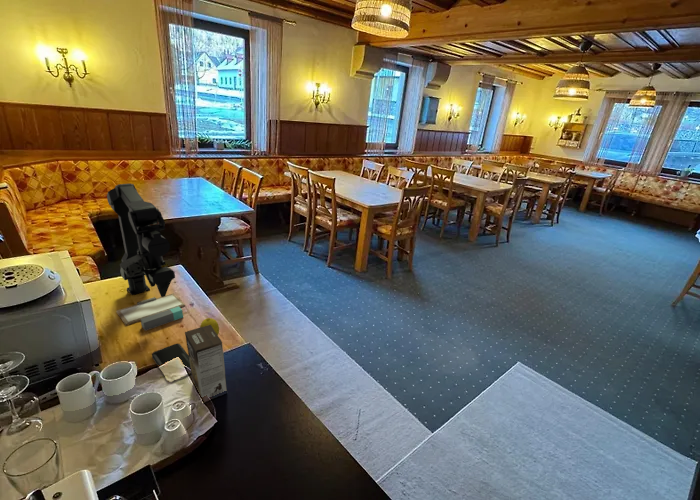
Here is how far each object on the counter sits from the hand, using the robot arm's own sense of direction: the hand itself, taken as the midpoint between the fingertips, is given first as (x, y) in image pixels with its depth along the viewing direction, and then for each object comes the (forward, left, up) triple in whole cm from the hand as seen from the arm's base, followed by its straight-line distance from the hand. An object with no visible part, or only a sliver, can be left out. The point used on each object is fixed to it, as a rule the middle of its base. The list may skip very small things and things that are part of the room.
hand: (157, 291), depth 111 cm
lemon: (+20, +7, -12) cm, 24 cm away
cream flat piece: (-11, 0, -12) cm, 16 cm away
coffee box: (+39, -2, -12) cm, 41 cm away
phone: (+23, -5, -12) cm, 27 cm away
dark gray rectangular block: (0, 0, -12) cm, 12 cm away
